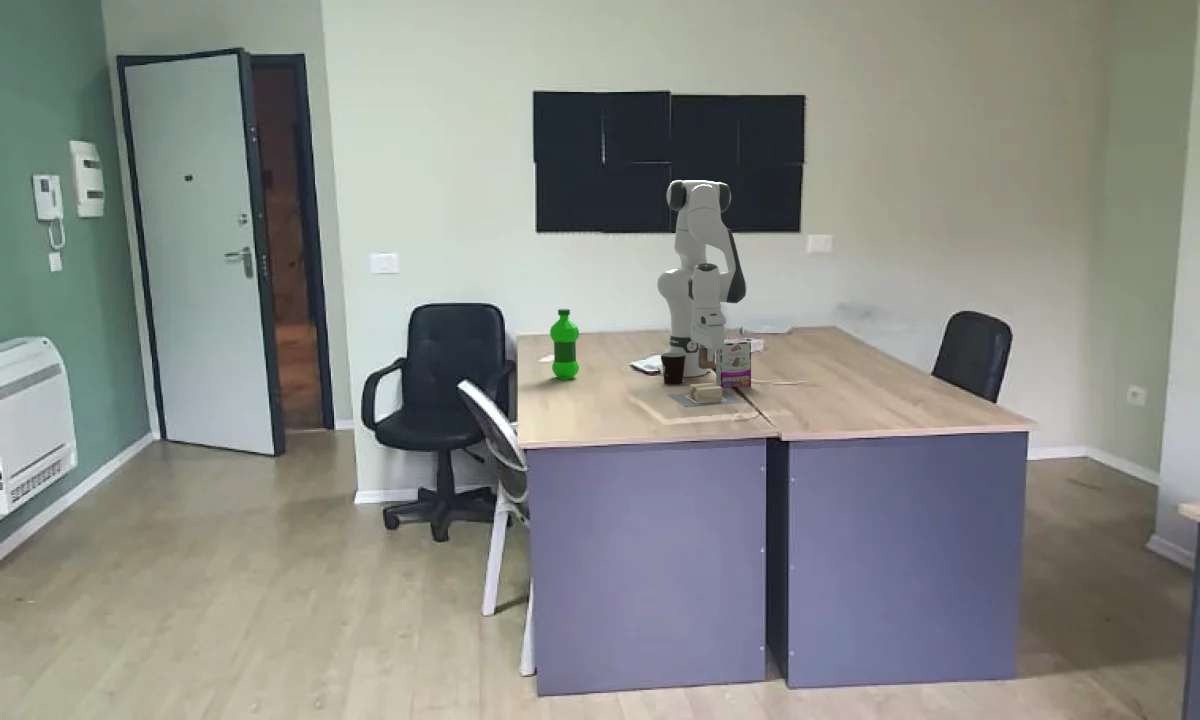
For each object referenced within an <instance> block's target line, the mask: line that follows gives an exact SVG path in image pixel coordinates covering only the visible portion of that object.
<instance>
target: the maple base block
mask: <svg viewBox="0 0 1200 720" xmlns="http://www.w3.org/2000/svg"><path fill="white" fill-rule="evenodd" d="M722 390H723V387H720V386H718V385H716V383H714V382H708V383H707V382H706V383H693V384H690V383H689V393H690V397H691V398H692V399H694V400H696V401H697V402H707V401H719V400H722Z"/></svg>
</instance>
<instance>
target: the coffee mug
mask: <svg viewBox="0 0 1200 720" xmlns="http://www.w3.org/2000/svg"><path fill="white" fill-rule="evenodd" d="M685 356H686V354H684V353H677V352H670V353H665V352H664V353H660V360H661V359H662V361H661V364H662V367H663V375H662V376H663V383H664V384H665V385H680V384H683V380H684V377H683V373H684V365H685Z"/></svg>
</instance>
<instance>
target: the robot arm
mask: <svg viewBox="0 0 1200 720" xmlns="http://www.w3.org/2000/svg"><path fill="white" fill-rule="evenodd" d="M731 193H732V192H731V190H730V186H729V185H728V183H727V184H726V183H724V182H721V181H718V182H715V181H710V180H692V179H691V180H681V179H678V180H674V181H673V180H672V182H670V184H669V186H668V188H667V191H666V202H667V205H668V207H669V208H670V209H671V210H673V211H675V212H678V214H677V219H676V226H675V237H674V250H675V253H676V254H677V255H678V256H679V259H680V263H681V267H679V268H672V269H669V270H667V271H665V272H662V273H661V274H660V275H659V277H658V280H657V283H656V284H657V285H656V286H657V291H658V292H659V294H660V295H661V296H662V297H663V298H664V300H665V302H666V303H667V306H668V308H669V313H670V323H671V324H670V327H671V331H670V333H671V335H670V336H669V342H668V344H669V346H668V347H667V348H666V350H665V351H664V353H670V352H677V353H684V354H686V356H685V365H684V373H683V378H684V377H685V378H686V377H689V378H690V377H697V376H698V377H699V376H704V375H706V374H708V373H710V372H712V371H711V370H712V369H702V368H699V367H698V348H707V351H708V354H707V355H706V360H707V361H713V356H714V352H715V353H716V350H720V349H723V347H724V342H725V339H726V338H725V332H726V330H725V325H726V324H727V319H726V318H727V317H726V316H725V315H724V314H723V312H722V309H721V308H722V307H721V303H727V304H738V303H739V302H741V301H742V300H743V299H744V298H745V297H746V295H747V287H748V286H747V282H746V279H745V277H744V273H743V269H742V266H741V262H740V257H739V254H738V250H737V246H736V243H735V242H736V241H735V238H734V234H733V232H732V230H731V229H730V228H728V227H727V226H726V225H725V224H724V222H723V221H722V216H721V215H722V213H724V212H725V211H727V210H728V208H729V206H730V204H731V200H732V194H731ZM706 245H708V246H711V247H714V248H716V249H719V250H720V251H721V252H722V253H723V255H724V258H725V262H726V267H727V271H726V272H724V271H723V272H722V271H720V269H719V267H718V265H716V264H714V263H708V260H707V253H706V252H707V251H706V247H707V246H706ZM660 361H661V362H662V359H661V358H660ZM658 367H659V369H660V371H661V372H660V371H659V372H660V374H661V375H662V376H663V367H662V363H661V364H658V365H657V368H658ZM659 369H658V370H659ZM707 372H708V373H707Z"/></svg>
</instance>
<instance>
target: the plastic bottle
mask: <svg viewBox="0 0 1200 720" xmlns="http://www.w3.org/2000/svg"><path fill="white" fill-rule="evenodd" d="M557 315H558V316H559V319H558V320H557V321H555V323H554V324H553V325H552V326H550V329H549V332H550V333H549V334H550V338H551V339H552V341H553V347H554V348H553V353H554V354H553V355H554V360H553V362H552V365H551V369H552V372H553V375H554V376H556V377H557V378H558V380H559V379H560V380H571V379H573V378H574V377H575V376H576V375H577V374H578V373H579V371H580V370H579V368H580V367H579V366H580V365H579V364H578V361H577V355H576V354H577V351H576V349H577V346H576V345H577V344H576V342H577V340H578V339H579V335H580V330H579V328H578V326H577V325H576V324H575V323H574V322H573V321H572V320H570V319H569V316H570V315H571V310H570V308H559V309H557Z"/></svg>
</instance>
